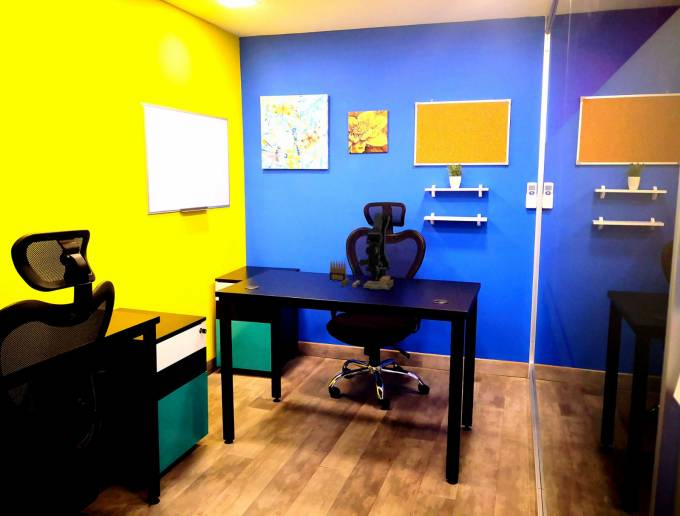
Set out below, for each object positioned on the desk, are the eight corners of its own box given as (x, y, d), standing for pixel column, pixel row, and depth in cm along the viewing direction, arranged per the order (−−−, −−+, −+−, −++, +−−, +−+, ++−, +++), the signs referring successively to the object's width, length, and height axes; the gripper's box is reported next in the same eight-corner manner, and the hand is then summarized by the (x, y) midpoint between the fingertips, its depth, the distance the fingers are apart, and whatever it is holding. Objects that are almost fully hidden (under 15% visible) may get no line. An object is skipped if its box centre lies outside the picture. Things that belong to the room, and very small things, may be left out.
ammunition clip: (346, 281, 323) (346, 261, 322) (345, 282, 322) (345, 262, 320) (330, 280, 328) (330, 260, 326) (329, 280, 326) (329, 260, 325)
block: (383, 282, 311) (383, 276, 310) (390, 282, 310) (390, 276, 309) (379, 285, 301) (379, 279, 301) (386, 285, 300) (386, 279, 300)
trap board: (347, 283, 318) (347, 277, 318) (393, 285, 311) (393, 279, 311) (341, 287, 306) (341, 281, 305) (389, 289, 299) (389, 283, 298)
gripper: (363, 251, 316) (363, 278, 318) (356, 255, 298) (356, 283, 300) (382, 252, 313) (382, 279, 315) (376, 256, 295) (376, 284, 298)
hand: (373, 281), depth 307 cm, fingers closed
